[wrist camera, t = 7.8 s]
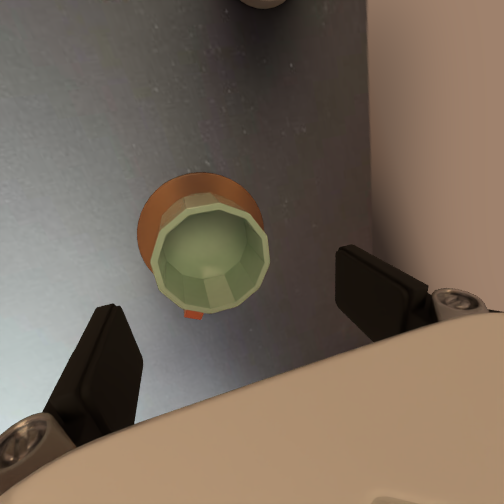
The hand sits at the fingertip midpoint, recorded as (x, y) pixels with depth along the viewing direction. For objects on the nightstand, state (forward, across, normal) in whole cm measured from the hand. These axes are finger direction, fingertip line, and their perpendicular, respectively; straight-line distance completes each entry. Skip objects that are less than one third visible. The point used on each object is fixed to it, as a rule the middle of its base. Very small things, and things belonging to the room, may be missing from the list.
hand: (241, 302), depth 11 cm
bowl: (+10, +1, 0) cm, 10 cm away
